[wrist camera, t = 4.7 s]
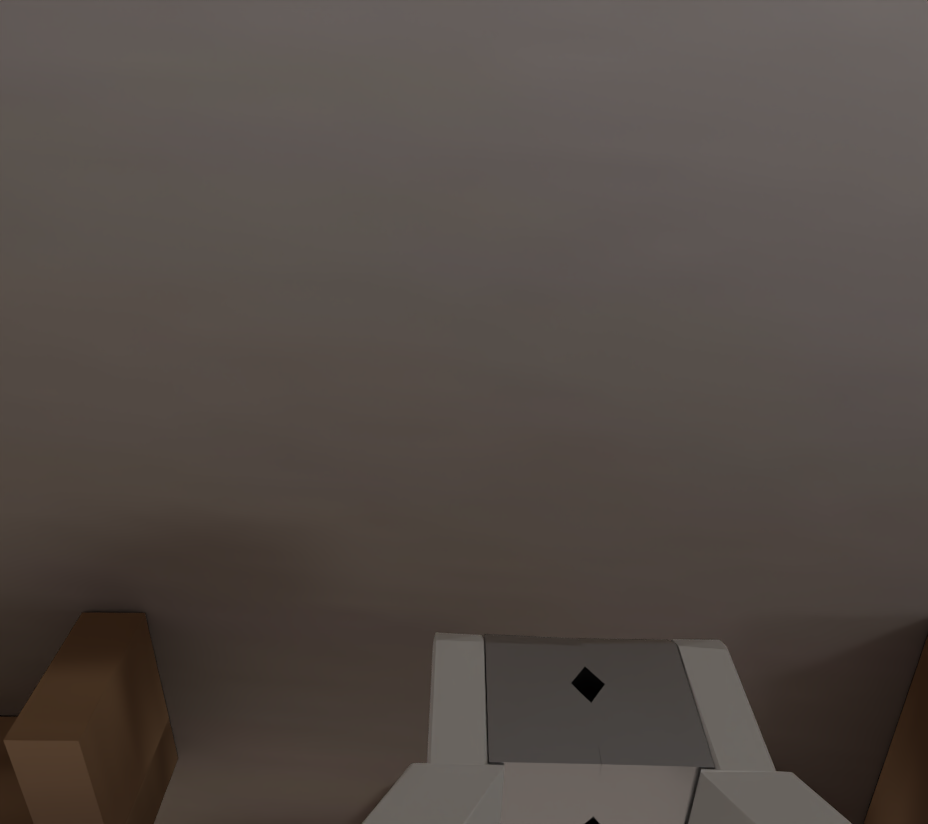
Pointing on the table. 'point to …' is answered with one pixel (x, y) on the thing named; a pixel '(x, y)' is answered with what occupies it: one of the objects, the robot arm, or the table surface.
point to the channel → (154, 752)
